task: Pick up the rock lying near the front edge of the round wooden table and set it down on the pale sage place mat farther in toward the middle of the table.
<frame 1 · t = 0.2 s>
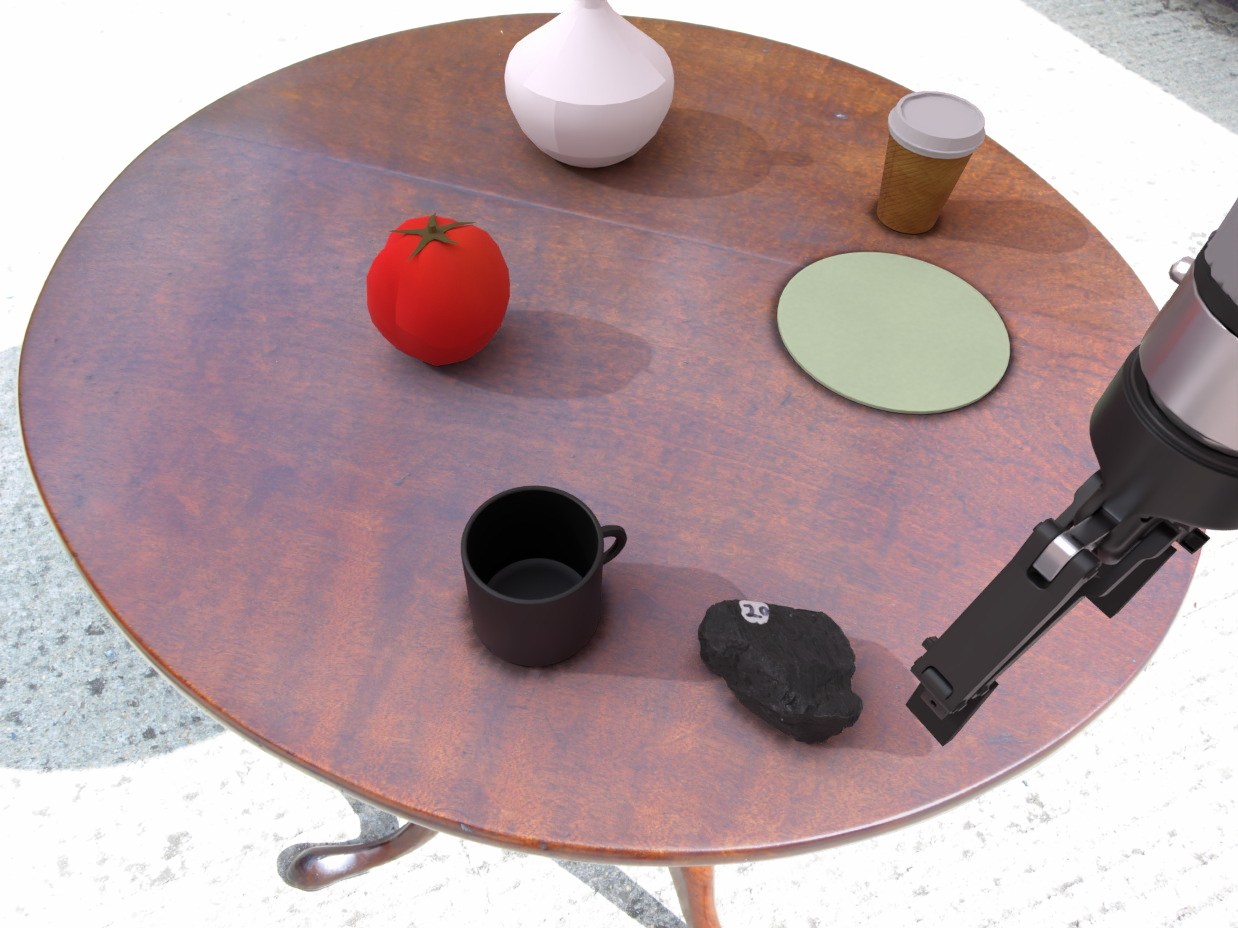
hand: (1015, 657, 50), 15 cm above the table, tool pointing down, fingers open, 13 cm apart
mat: (891, 328, 88), on the table
disposable coffee cup: (905, 217, 99), on the table
mug: (552, 604, 68), on the table
rock: (777, 683, 65), on the table
vase: (588, 145, 106), on the table
tomato: (447, 348, 84), on the table
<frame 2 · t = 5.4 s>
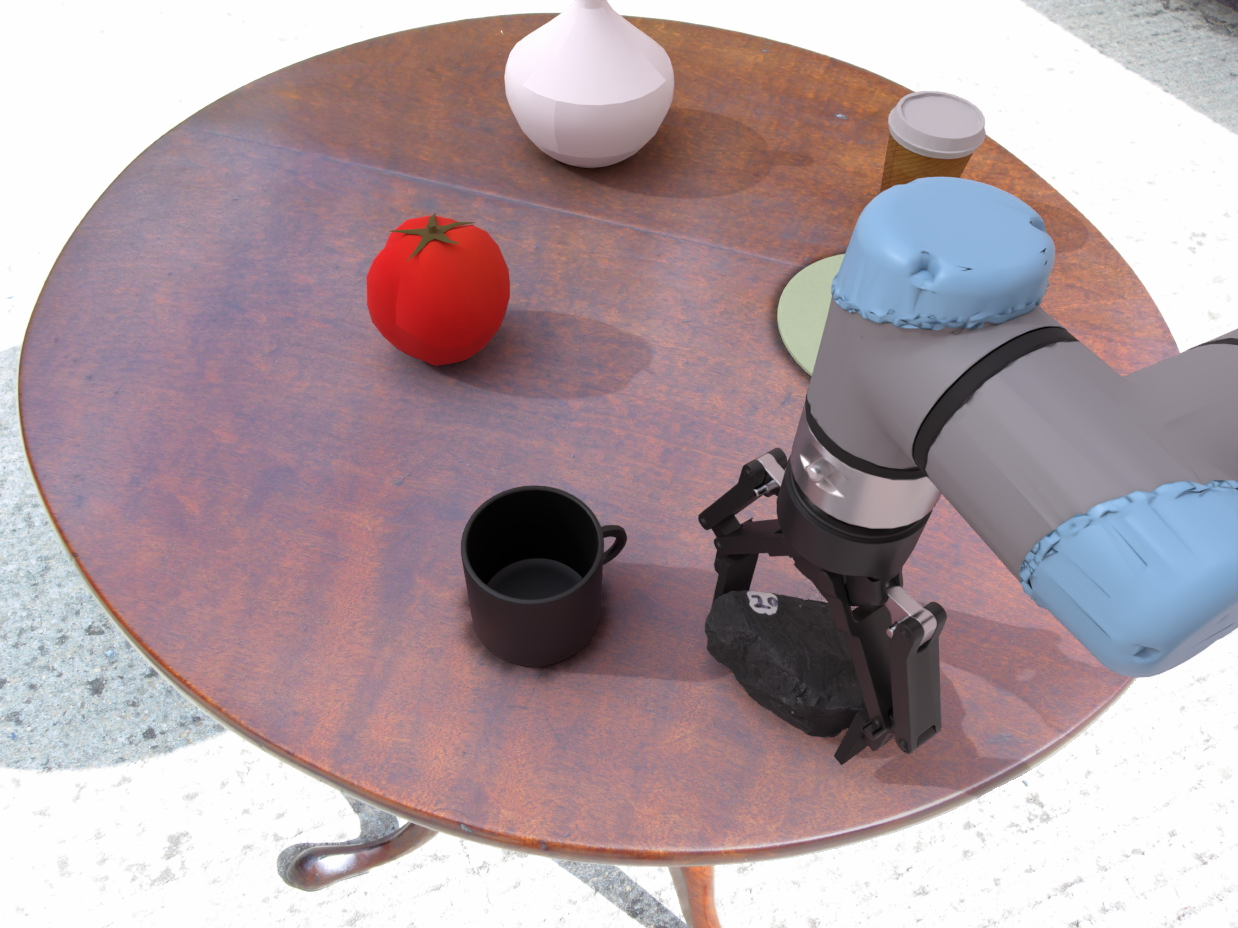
hand: (787, 673, 63), 2 cm above the table, tool pointing down, fingers closed on rock, 12 cm apart
rock: (786, 676, 63), point 2 cm above the table, touching gripper
everything else where it was.
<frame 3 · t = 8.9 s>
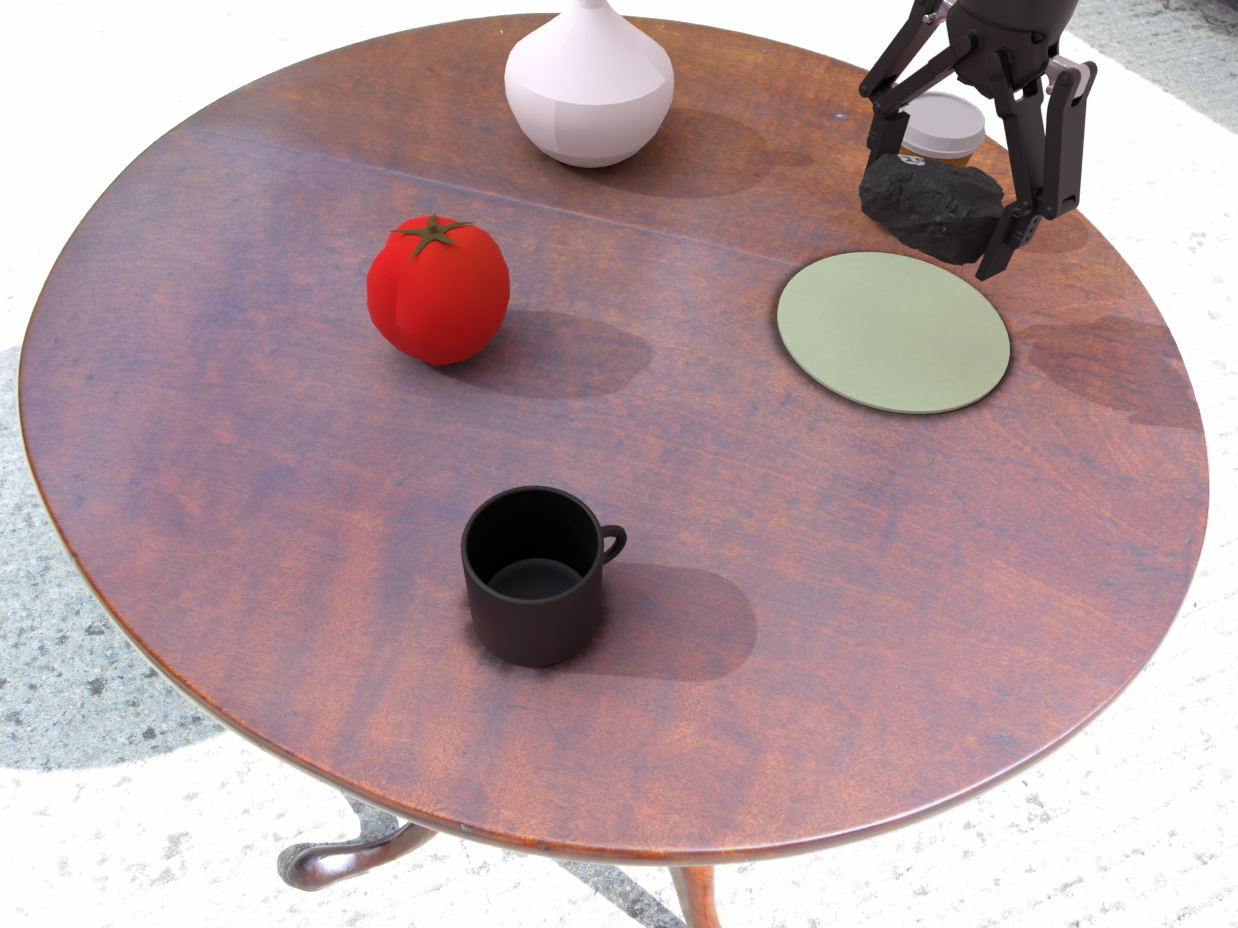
hand: (929, 229, 74), 14 cm above the table, tool pointing down, fingers closed on rock, 12 cm apart
rock: (927, 233, 75), point 14 cm above the table, touching gripper
everything else where it was.
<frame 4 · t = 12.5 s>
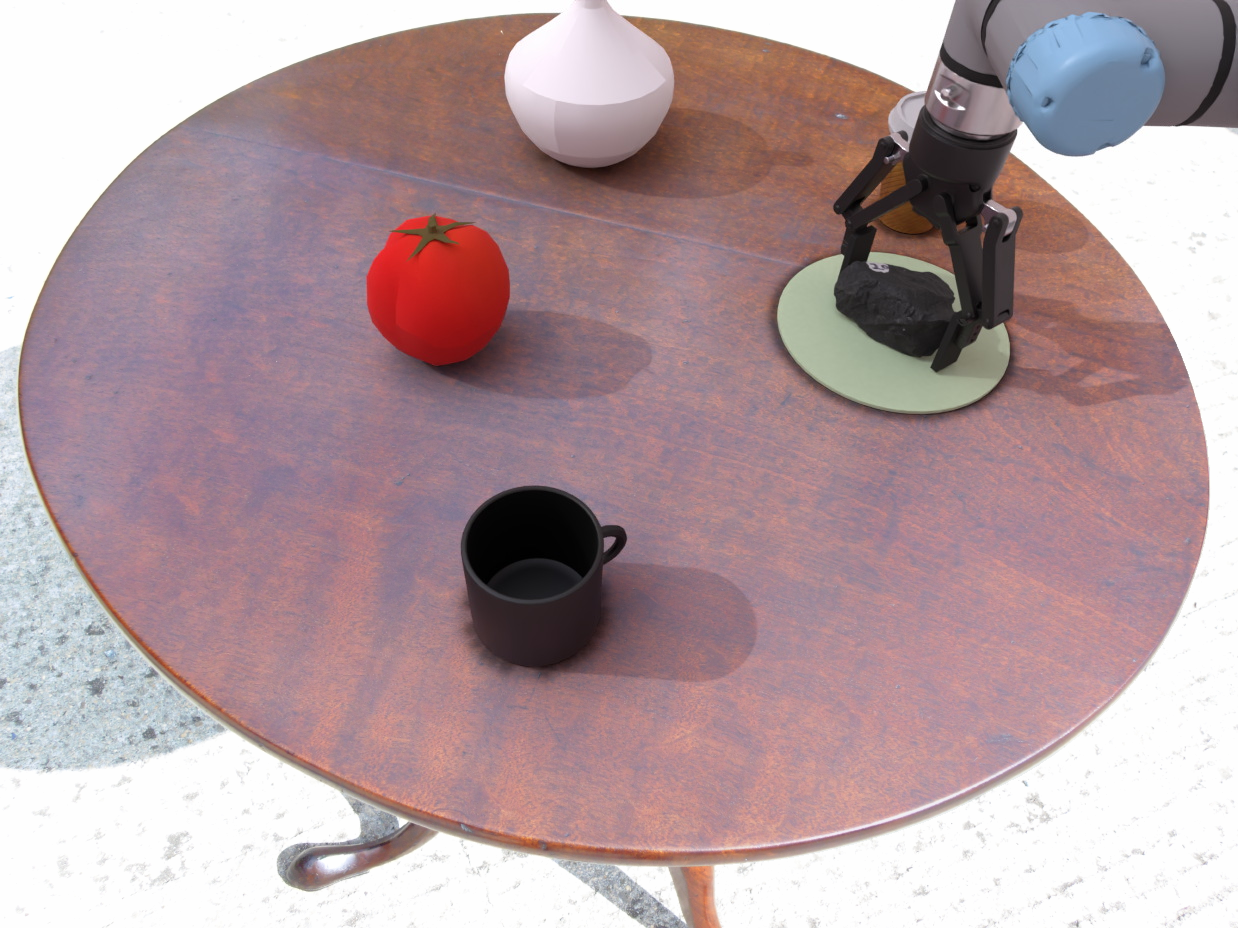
hand: (893, 324, 87), 1 cm above the table, tool pointing down, fingers closed on rock, 12 cm apart
rock: (892, 327, 88), resting on mat, touching gripper
everything else where it was.
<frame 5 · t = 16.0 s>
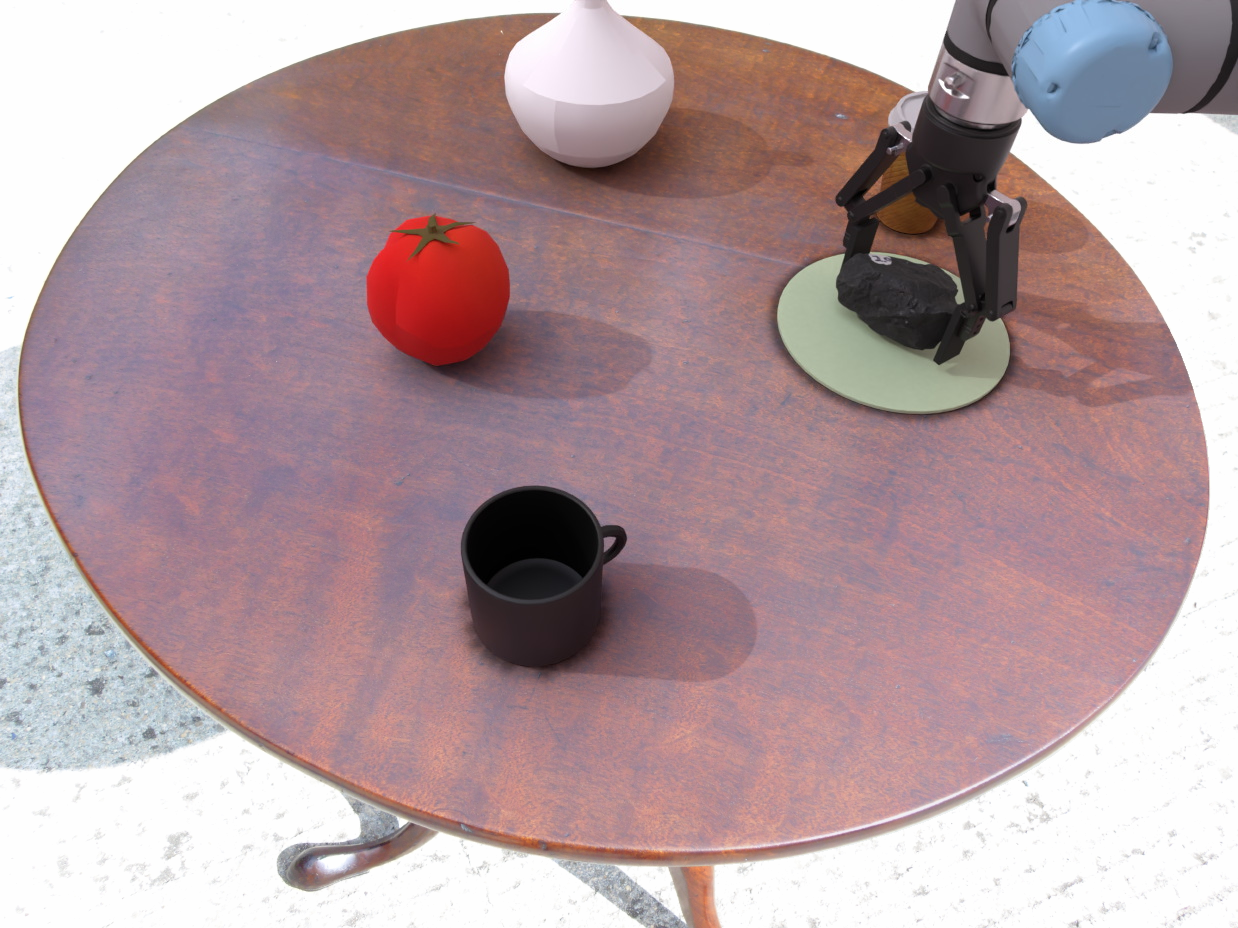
hand: (896, 316, 87), 2 cm above the table, tool pointing down, fingers closed on rock, 12 cm apart
rock: (894, 320, 87), point 1 cm above the table, touching gripper
everything else where it was.
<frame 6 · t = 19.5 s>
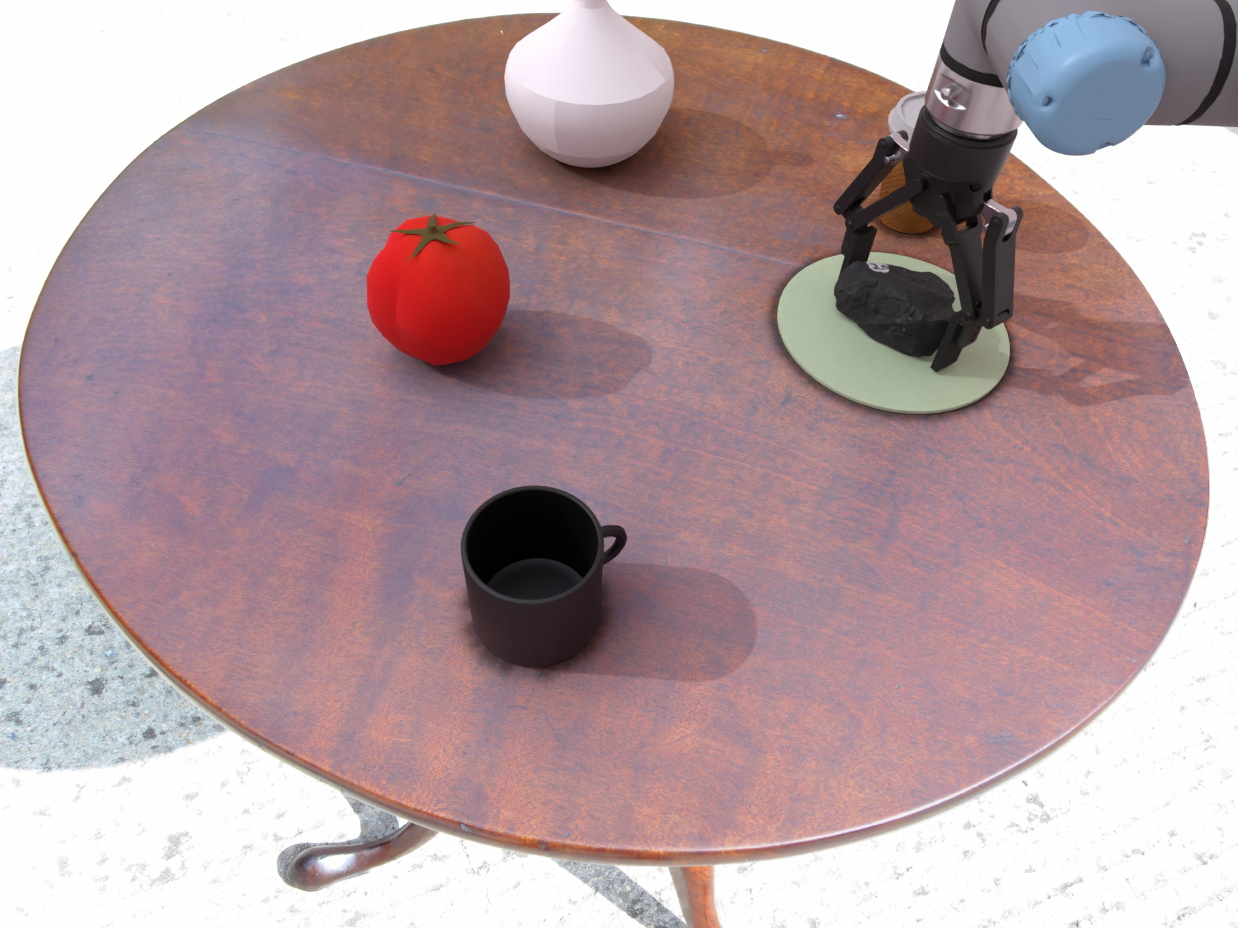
hand: (893, 324, 87), 1 cm above the table, tool pointing down, fingers closed on rock, 12 cm apart
rock: (892, 327, 88), resting on mat, touching gripper
everything else where it was.
when the fingers open (1 cm above the table, at t = 22.8 s): rock stays where it is, resting on mat.
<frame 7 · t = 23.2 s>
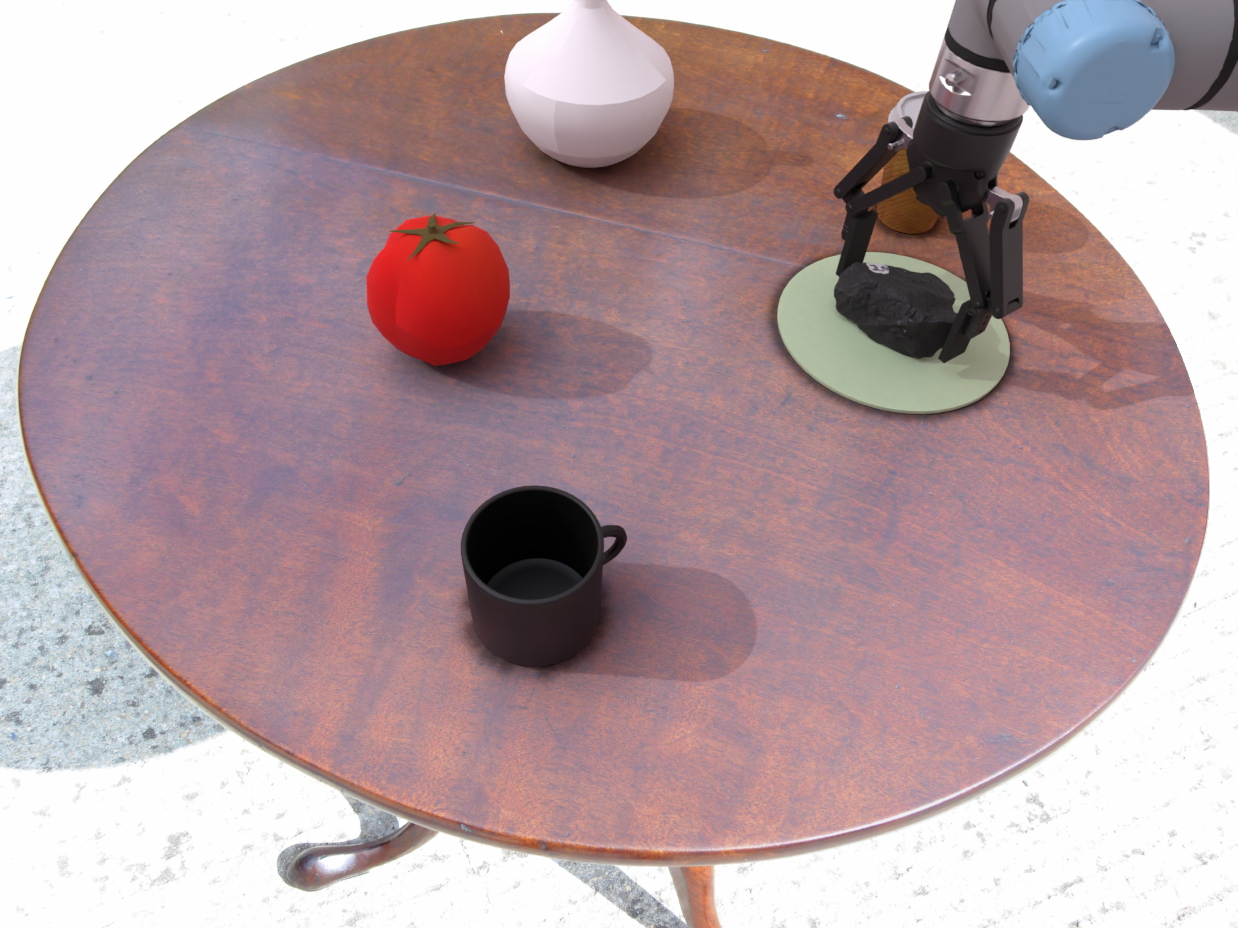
hand: (897, 312, 86), 2 cm above the table, tool pointing down, fingers open, 13 cm apart
rock: (892, 328, 88), resting on mat
everything else where it was.
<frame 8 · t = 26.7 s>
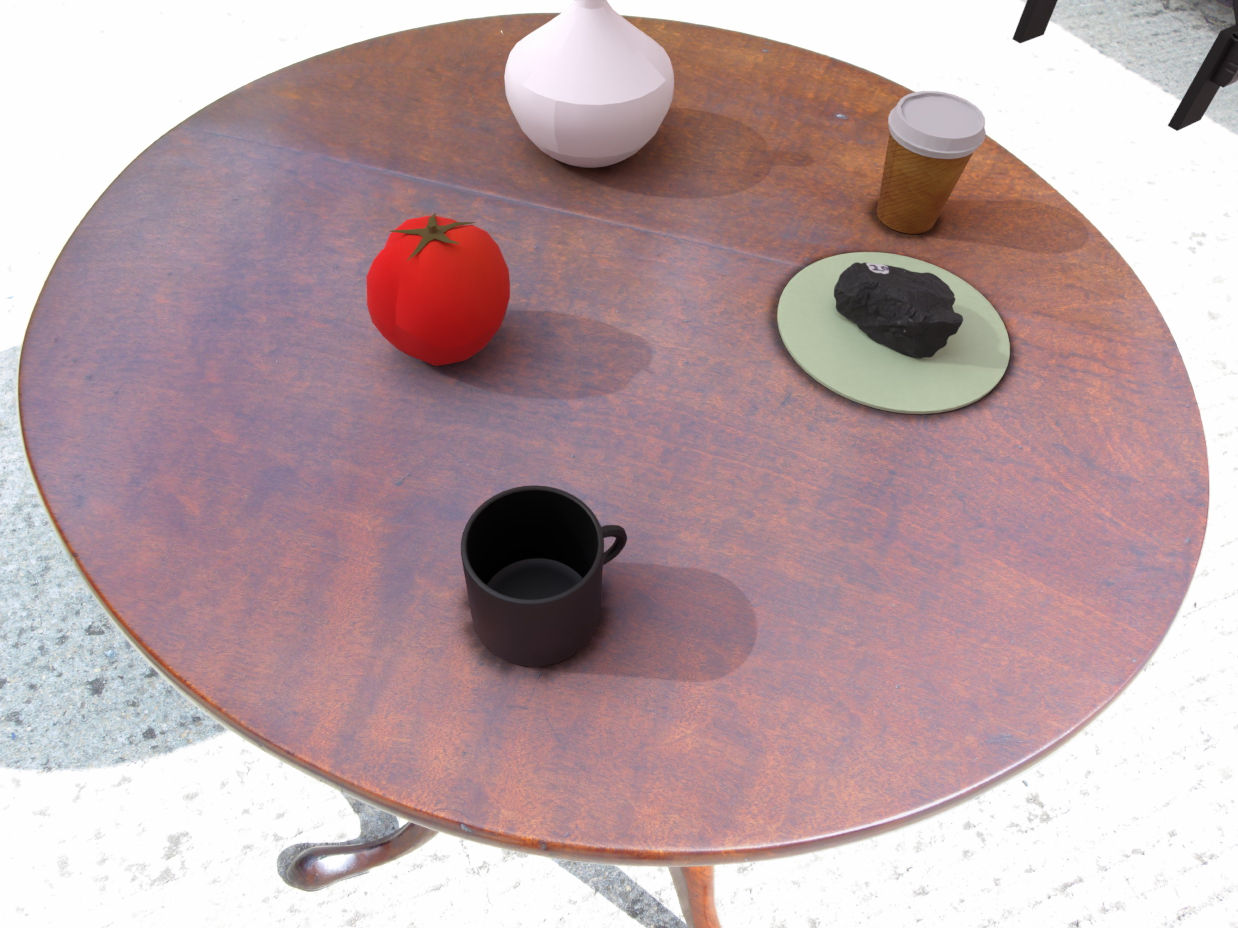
hand: (1101, 78, 66), 27 cm above the table, tool pointing down, fingers open, 13 cm apart
nothing on the table moved.
at the end: rock inside the target area on the mat (0.2 cm from its centre), point 0.2 cm above the mat's base; the gripper is holding nothing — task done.
